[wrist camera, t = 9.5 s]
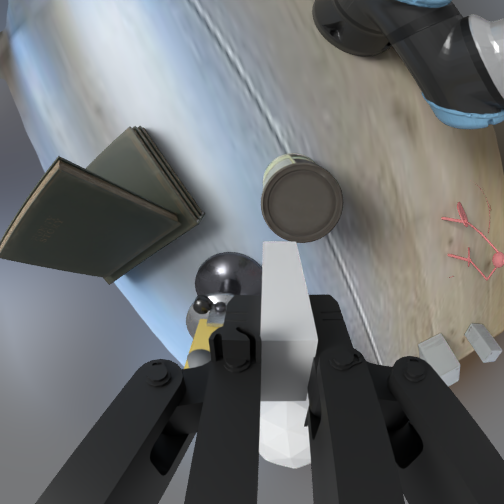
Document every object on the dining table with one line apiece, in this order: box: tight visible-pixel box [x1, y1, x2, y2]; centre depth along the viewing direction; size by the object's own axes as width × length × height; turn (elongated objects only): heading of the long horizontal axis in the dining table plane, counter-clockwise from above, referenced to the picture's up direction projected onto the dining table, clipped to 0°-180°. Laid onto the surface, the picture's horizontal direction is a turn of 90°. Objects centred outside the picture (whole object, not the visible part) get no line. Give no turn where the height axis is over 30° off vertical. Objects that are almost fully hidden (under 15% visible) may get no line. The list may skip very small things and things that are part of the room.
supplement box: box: [418, 333, 460, 386], centre depth 57 cm, size 7×7×13 cm
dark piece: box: [0, 126, 205, 285], centre depth 39 cm, size 23×20×25 cm
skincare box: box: [465, 323, 502, 363], centre depth 55 cm, size 6×4×12 cm
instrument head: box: [184, 319, 219, 369], centre depth 37 cm, size 6×9×13 cm, turn 0°
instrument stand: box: [186, 252, 262, 339], centre depth 49 cm, size 14×14×17 cm
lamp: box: [259, 394, 311, 469], centre depth 60 cm, size 22×34×24 cm, turn 121°
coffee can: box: [261, 153, 343, 243], centre depth 41 cm, size 10×10×14 cm
